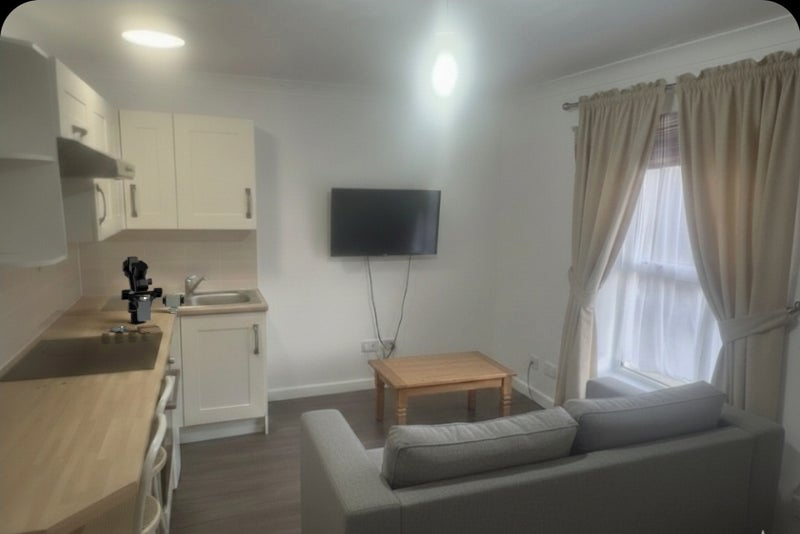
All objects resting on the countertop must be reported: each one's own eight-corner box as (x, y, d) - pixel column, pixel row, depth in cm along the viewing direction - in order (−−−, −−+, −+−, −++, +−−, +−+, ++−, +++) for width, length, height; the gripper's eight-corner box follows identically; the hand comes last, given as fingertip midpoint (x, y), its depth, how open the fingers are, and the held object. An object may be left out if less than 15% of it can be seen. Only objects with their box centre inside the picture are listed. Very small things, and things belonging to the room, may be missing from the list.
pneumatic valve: (183, 313, 305) (183, 293, 303) (162, 314, 301) (162, 294, 300) (185, 311, 310) (184, 292, 308) (164, 312, 307) (163, 292, 305)
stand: (136, 330, 263) (136, 326, 263) (155, 328, 269) (155, 324, 269) (141, 333, 256) (141, 330, 256) (160, 331, 262) (160, 327, 262)
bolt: (108, 332, 257) (108, 325, 257) (113, 330, 261) (113, 323, 260) (121, 333, 256) (121, 326, 256) (126, 331, 260) (126, 324, 259)
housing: (137, 319, 259) (136, 296, 258) (149, 318, 262) (148, 295, 261) (138, 321, 256) (138, 297, 254) (150, 320, 259) (150, 297, 257)
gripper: (121, 273, 254) (124, 299, 246) (161, 272, 264) (166, 297, 257) (119, 286, 261) (122, 312, 254) (159, 284, 272) (163, 309, 264)
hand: (144, 307), depth 257 cm, fingers closed on housing, 5 cm apart
